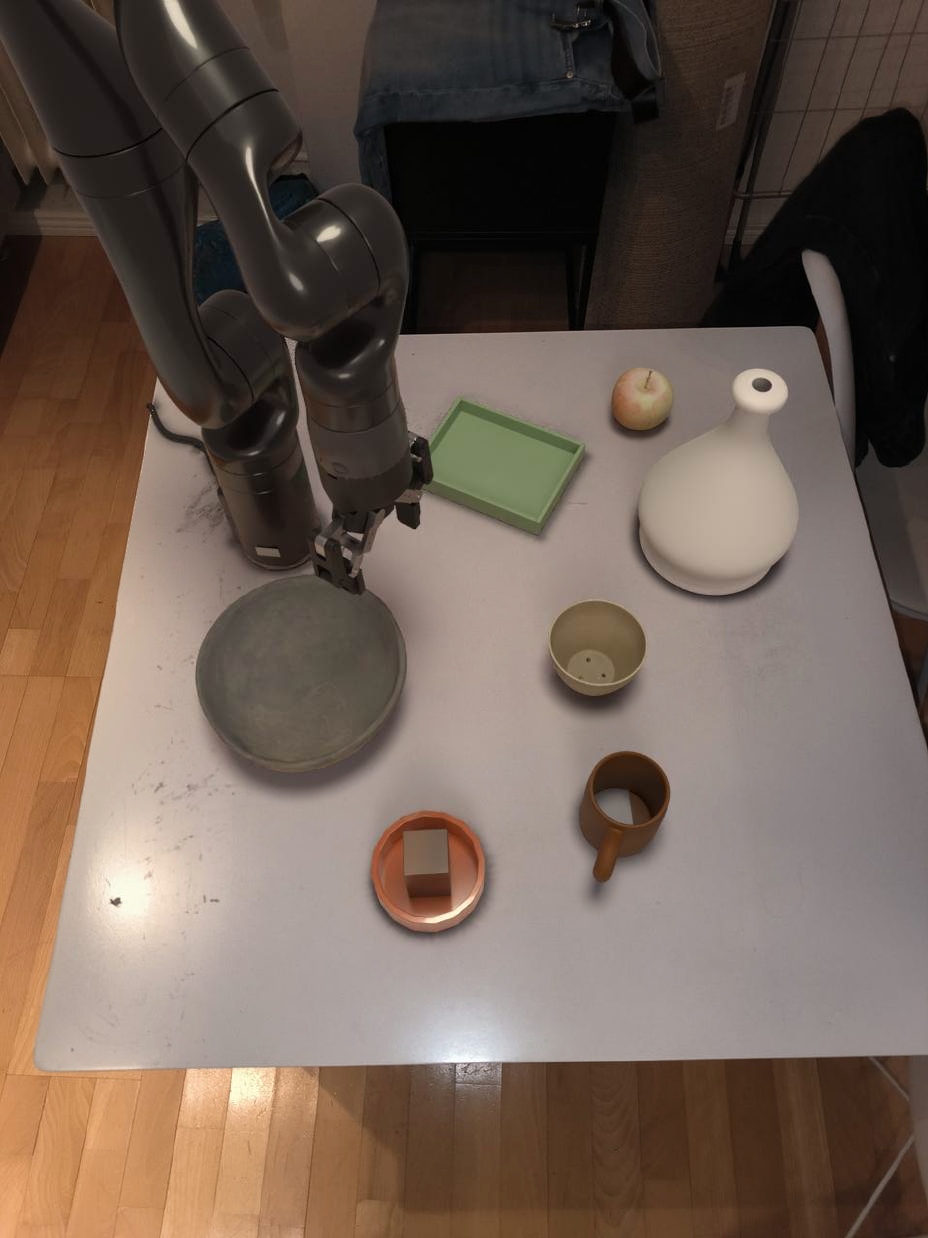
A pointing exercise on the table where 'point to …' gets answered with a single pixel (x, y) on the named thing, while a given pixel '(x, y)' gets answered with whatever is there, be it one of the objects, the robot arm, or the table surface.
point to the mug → (646, 807)
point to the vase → (722, 498)
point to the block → (427, 863)
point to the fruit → (642, 398)
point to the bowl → (301, 673)
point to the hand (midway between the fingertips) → (382, 555)
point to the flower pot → (597, 646)
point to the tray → (501, 464)
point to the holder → (463, 865)
